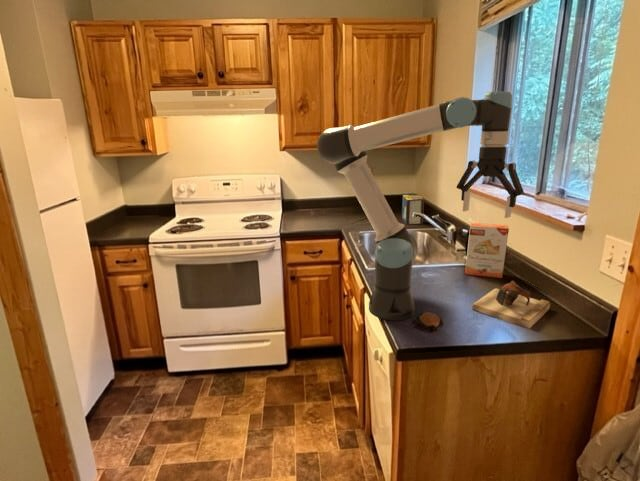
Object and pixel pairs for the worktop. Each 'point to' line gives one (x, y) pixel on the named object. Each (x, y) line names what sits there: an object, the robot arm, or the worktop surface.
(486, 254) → the cracker box
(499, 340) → the worktop surface
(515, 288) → the pottery mug
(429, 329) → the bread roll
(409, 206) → the protein box
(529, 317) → the folded beige towel
